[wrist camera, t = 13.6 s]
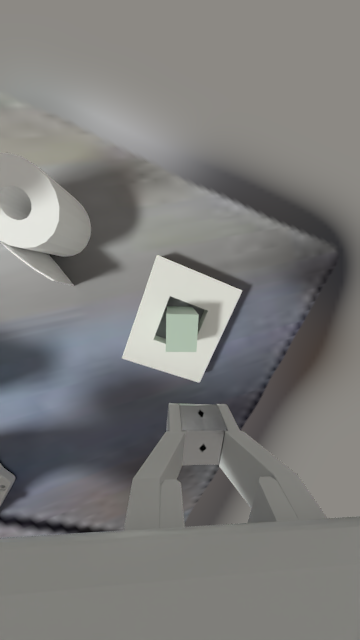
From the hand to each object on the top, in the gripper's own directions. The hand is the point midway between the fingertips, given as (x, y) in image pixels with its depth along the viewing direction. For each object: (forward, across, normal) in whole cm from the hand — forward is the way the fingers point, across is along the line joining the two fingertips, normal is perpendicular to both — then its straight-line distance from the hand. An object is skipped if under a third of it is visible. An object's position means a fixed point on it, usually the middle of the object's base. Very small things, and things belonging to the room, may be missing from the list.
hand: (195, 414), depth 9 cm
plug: (+19, -1, 0) cm, 19 cm away
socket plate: (+19, -1, 0) cm, 19 cm away
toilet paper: (+20, +17, -11) cm, 28 cm away
